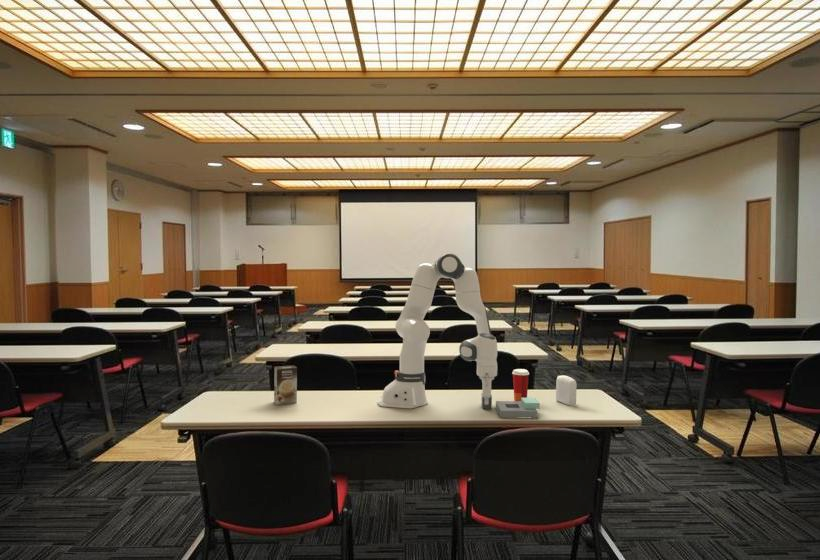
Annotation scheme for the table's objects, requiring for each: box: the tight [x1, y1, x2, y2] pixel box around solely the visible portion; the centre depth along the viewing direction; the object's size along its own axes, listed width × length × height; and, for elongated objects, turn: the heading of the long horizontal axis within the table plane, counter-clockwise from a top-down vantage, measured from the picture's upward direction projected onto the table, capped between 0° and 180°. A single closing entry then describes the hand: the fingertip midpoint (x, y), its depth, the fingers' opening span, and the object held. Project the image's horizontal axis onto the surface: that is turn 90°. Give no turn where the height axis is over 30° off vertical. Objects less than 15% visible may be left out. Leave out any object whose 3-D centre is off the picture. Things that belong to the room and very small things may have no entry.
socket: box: [495, 400, 538, 419], centre depth 211 cm, size 15×14×3 cm
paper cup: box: [511, 368, 530, 401], centre depth 229 cm, size 8×8×14 cm
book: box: [555, 375, 578, 407], centre depth 226 cm, size 10×4×12 cm, turn 25°
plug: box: [480, 394, 493, 410], centre depth 218 cm, size 4×4×6 cm
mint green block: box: [521, 397, 540, 410], centre depth 210 cm, size 6×8×2 cm
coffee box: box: [273, 365, 298, 406], centre depth 225 cm, size 9×6×16 cm
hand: (486, 402), depth 218 cm, fingers closed on plug, 4 cm apart
